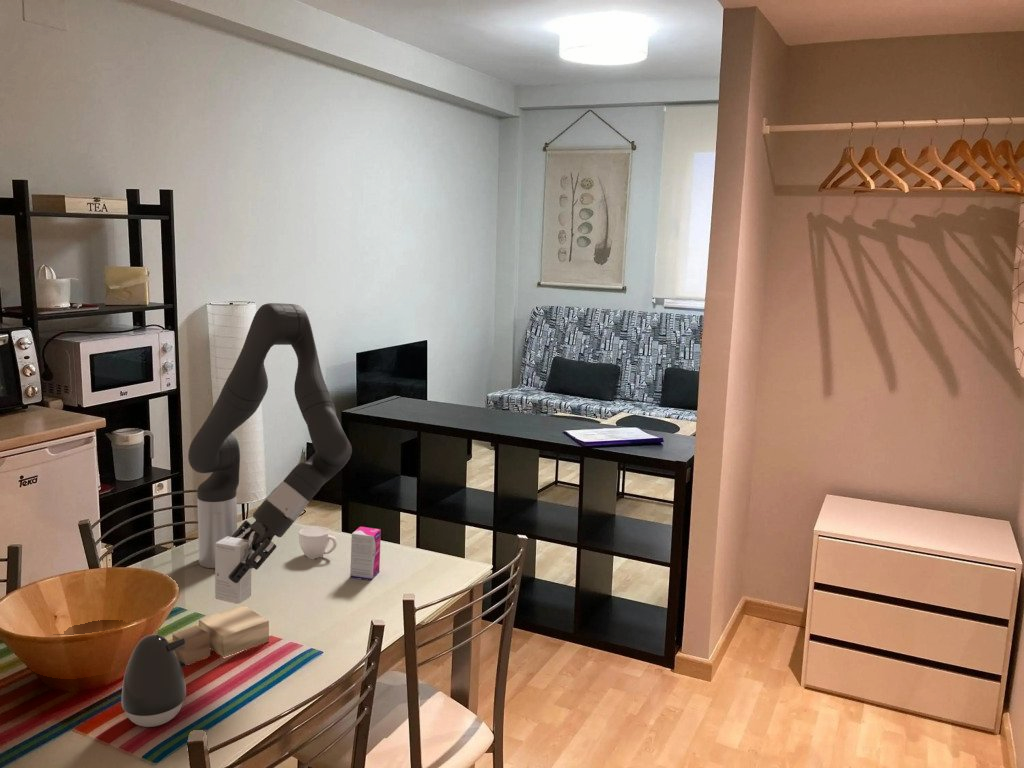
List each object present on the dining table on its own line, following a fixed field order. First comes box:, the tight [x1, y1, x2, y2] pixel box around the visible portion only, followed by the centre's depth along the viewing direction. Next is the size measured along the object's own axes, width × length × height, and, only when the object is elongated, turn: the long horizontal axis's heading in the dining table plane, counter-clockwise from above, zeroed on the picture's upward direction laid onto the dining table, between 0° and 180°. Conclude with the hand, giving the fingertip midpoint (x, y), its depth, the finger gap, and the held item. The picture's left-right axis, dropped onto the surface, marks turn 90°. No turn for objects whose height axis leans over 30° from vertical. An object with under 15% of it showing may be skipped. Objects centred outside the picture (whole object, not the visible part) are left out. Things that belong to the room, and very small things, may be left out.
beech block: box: [198, 604, 270, 657], centre depth 171 cm, size 10×10×5 cm
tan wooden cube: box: [171, 625, 211, 665], centre depth 164 cm, size 5×5×5 cm
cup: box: [298, 525, 338, 559], centre depth 217 cm, size 8×10×7 cm
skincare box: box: [214, 536, 253, 605], centre depth 169 cm, size 6×4×12 cm
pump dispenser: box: [120, 633, 187, 728], centre depth 142 cm, size 10×10×15 cm
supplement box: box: [349, 526, 382, 581], centre depth 206 cm, size 6×6×12 cm
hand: (226, 573), depth 168 cm, fingers closed on skincare box, 7 cm apart
